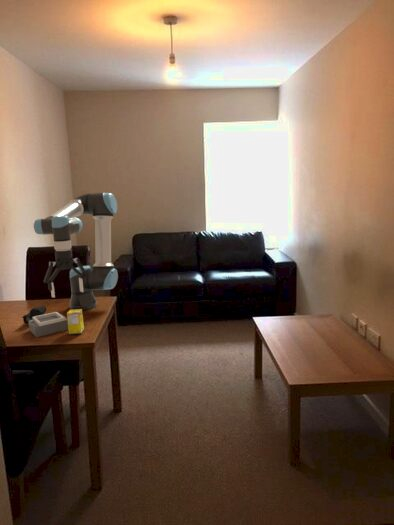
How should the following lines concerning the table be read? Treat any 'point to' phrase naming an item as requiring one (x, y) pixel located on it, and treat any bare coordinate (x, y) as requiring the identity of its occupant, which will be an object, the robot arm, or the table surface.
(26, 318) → the night vision scope
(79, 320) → the supplement box
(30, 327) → the grey tray
